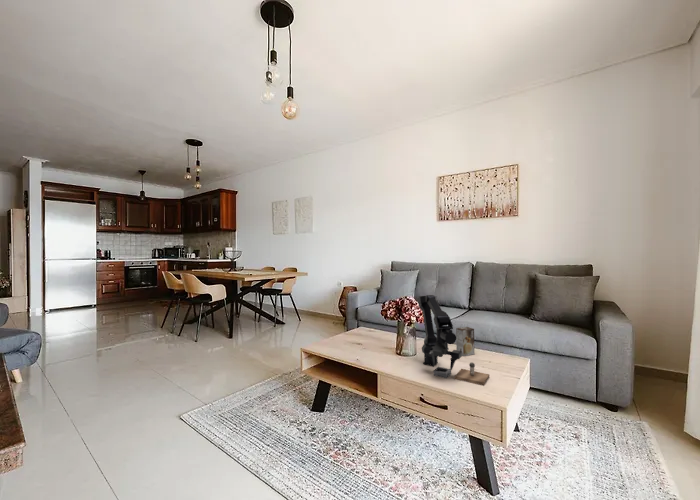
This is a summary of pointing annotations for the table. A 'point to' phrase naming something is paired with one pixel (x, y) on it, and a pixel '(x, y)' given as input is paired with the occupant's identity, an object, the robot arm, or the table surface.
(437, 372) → the metal link
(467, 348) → the coffee box
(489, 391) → the table surface
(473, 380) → the square knob plate
